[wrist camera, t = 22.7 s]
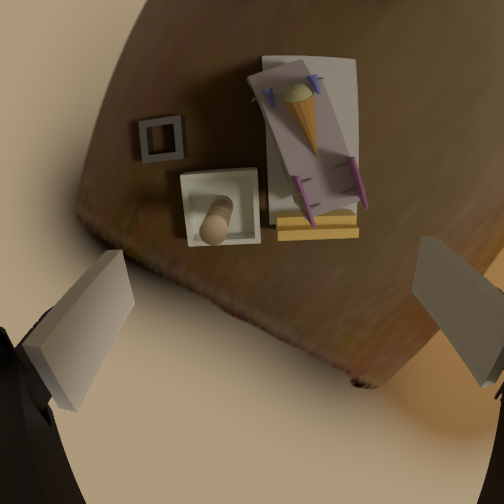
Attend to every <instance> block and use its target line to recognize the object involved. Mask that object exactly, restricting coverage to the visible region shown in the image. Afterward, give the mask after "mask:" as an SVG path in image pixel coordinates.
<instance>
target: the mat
mask: <svg viewBox="0 0 504 504" xmlns="http://www.w3.org/2000/svg"><path fill="white" fill-rule="evenodd" d="M301 59H302V60H303V61H304V63H305V65H306V67H307V68H308V70H309V72H310V74H311V75H314V74H317V75H318V77H323V78H324V79H322V81H323V83H324V86H325V88H326V91H327V94H328V96H329V99H330V101H331V104H332V107H333V110H334V112H335V115H336V118H337V121H338V123H339V126H340V129H341V132H342V135H343V138H344V141H345V144H346V147H347V150H348V153H349V156H350V157H355V159H356V163H357V167H358V160H359V128H358V93H357V75H356V60H355V59H347V58H335V57H319V56H262V69H263V71H265V70H268V69H271V68H274V67H277V66H280V65H284V64H287V63H290V62H294V61H297V60H301ZM265 126H266V148H267V171H268V197H269V224H276V212H286V211H300V209H299V207H298V205H296V204H295V202H294V199H293V196H294V195H293V193H292V190H291V187H290V185H289V182H288V180H287V177H286V175H285V172H284V170H283V167H282V164H281V160H280V158H279V155H278V153H277V150H276V148H275V145H274V142H273V140H272V137H271V135H270V132H269V130H268V127H267V124H266V122H265ZM335 210H352V211H353V212H354V213H355V214H356V215H357V202H355V203H352V204H350V205H347V206H344V207H341V208H338V209H335Z"/></svg>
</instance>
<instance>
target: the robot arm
mask: <svg viewBox="0 0 504 504" xmlns="http://www.w3.org/2000/svg"><path fill="white" fill-rule="evenodd" d="M411 291H412V292H413V293H414V295H415V296H416V297H417V298H418V300H419V301H420V302H421V303H422V305H423V306H424V307H425V309H426V310H427V311H428V313H429V314H430V315H431V317H432V318H433V319H434V321H435V322H436V323H437V325H438V326H439V327H440V329H441V330H442V331H443V333H444V334H445V335H446V337H447V338H448V340H449V341H450V342H451V344H452V345H453V347H454V348H455V349H456V351H457V352H458V354H459V355H460V357H461V358H462V360H463V361H464V363H465V364H466V365H467V367H468V369H469V370H470V372H471V373H472V375H473V376H474V378H475V379H476V381H477V382H478V384H479V385H480V387H481V388H483V387H486V386H488V385H491V384H494V383H496V381H497V380H498V378H499V376H500V374H501V372H502V371H503V370H504V293H503V292H502V291H501V290H500V289H499V288H497V287H495V286H494V285H493V284H492V283H491V282H490V281H488V280H487V279H486V278H485V277H484V276H483V275H482V274H481V273H479V272H478V271H477V270H476V269H475V268H473V267H472V266H471V265H470V264H469V263H468V262H466V261H465V260H464V259H463V258H461V257H460V256H459V255H458V254H457V253H455V252H454V251H453V250H452V249H450V248H449V247H448V246H446V245H445V244H444V243H443V242H441V241H440V240H439V239H437V238H436V237H435V236H427V237H421V241H420V247H419V253H418V259H417V265H416V270H415V275H414V280H413V285H412V290H411ZM134 305H135V302H134V298H133V294H132V290H131V286H130V282H129V278H128V274H127V270H126V266H125V262H124V257H123V252H122V250H107V251H106V252H105V253H104V254H103V255H102V256H101V257H100V258H99V259H98V260H97V261H96V262H95V263H94V264H93V265H92V266H91V267H90V268H89V269H88V270H87V271H86V272H85V273H84V274H83V276H81V277H80V279H79V280H78V281H77V282H76V283H75V284H74V285H73V286H72V287H71V288H70V289H69V290H68V291H67V293H65V295H64V296H63V297H62V298H61V299H60V300H59V301H58V302H57V304H56V305H55V306H53V307H52V308H50V309H49V310H48V311H46V312H45V313H44V314H43V315H42V316H41V318H40V319H39V321H38V322H36V323H35V324H34V326H33V328H31V329H30V330H29V332H28V333H27V334H26V335H25V336H24V338H23V339H22V340H21V341H20V343H19V344H18V345H17V346H16V347H15V348H14V347H13V345H12V343H11V341H10V339H9V337H8V335H7V333H6V331H5V329H4V328H3V327H0V504H86V502H85V500H84V498H83V496H82V494H81V491H80V489H79V487H78V484H77V482H76V480H75V478H74V475H73V472H72V470H71V467H70V464H69V462H68V459H67V456H66V454H65V451H64V448H63V445H62V442H61V439H60V436H59V433H58V430H57V426H56V423H55V419H54V416H53V412H52V410H51V408H50V406H49V405H48V402H49V400H50V398H51V397H53V399H54V400H55V402H56V403H57V405H58V406H59V408H62V409H65V410H70V411H74V412H77V411H78V410H79V408H80V406H81V403H82V401H83V399H84V397H85V395H86V393H87V391H88V389H89V387H90V385H91V383H92V381H93V379H94V377H95V375H96V374H97V372H98V370H99V368H100V366H101V364H102V362H103V360H104V358H105V356H106V354H107V353H108V351H109V349H110V347H111V345H112V343H113V342H114V340H115V338H116V336H117V334H118V333H119V331H120V329H121V327H122V325H123V324H124V322H125V320H126V318H127V317H128V315H129V313H130V311H131V310H132V308H133V306H134ZM501 393H502V398H501V399H500V401H501V407H500V415H499V420H498V426H497V432H496V436H495V441H494V446H493V451H492V454H491V458H490V462H489V467H488V470H487V474H486V477H485V480H484V484H483V487H482V490H481V493H480V496H479V499H478V502H477V504H504V382H503V384H502V386H501V387H500V389H499V391H498V392H497V394H496V395H495V399H497V398H498V396H499V395H500V394H501Z"/></svg>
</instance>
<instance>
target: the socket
mask: <svg viewBox="0 0 504 504" xmlns="http://www.w3.org/2000/svg"><path fill="white" fill-rule="evenodd" d="M138 122H139V134H140V144H141V154H142V163H151V162H159V161H167V160H176V159H184V158H186V157H188V155H187V143H186V131H185V117H184V115H177V116H170V117H163V118H156V119H150V120H144V121H138ZM170 124H174V136H175V147H176V151H171V152H162V153H154V150H153V140H152V128H151V127H155V126H162V125H170Z"/></svg>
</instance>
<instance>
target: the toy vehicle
mask: <svg viewBox="0 0 504 504" xmlns="http://www.w3.org/2000/svg"><path fill="white" fill-rule="evenodd" d="M322 79H324V78H323V77H318V75H317V74H314V75H311V74H310V72H309V70H308V68H307V67H306V65H305V63H304V61H303V60H302V59H301V60H297V61H294V62H290V63H287V64H284V65H280V66H277V67H274V68H271V69H268V70H265V71H262V72H259V73H256V74H254V75H251V76H248V77H247V78H246V80H247V82H248V85H249V87H250V86H251V87H252V89H253V94H254V96H255V98H253V99H252V100H251V103H252V102H253V101H257V104H258V106H259V108H260V110H261V111H262V114H263V117H264V119H265V122H266V124H267V127H268V130H269V132H270V135H271V137H272V140H273V142H274V145H275V148H276V150H277V153H278V155H279V158H280V160H281V164H282V167H283V170H284V172H285V175H286V177H287V180H288V182H289V185H290V187H291V190H292V193H293V195H294V196H293V199H294V202H295V204H296V205H298V207H299V209H300V211H301V213H302V215H303V217H304V219H305V220H308V221H309V223H310V224H311V226H312V227H313V228H316V224H315V222H314V219H313V217H316V216H318V215H321V214H324V213H327V212H330V211H333V210H335V209H338V208H341V207H344V206H347V205H350V204H352V203H355V202H358V201H361V202H362V203H363V205H364V206H365V208H366V209H369V206H368V203H367V199H366V195H365V189H364V187H363V183H362V180H361V176H360V173H359V170H358V167H357V163H356V159H355V157H350V156H349V153H348V150H347V147H346V144H345V141H344V138H343V135H342V132H341V129H340V126H339V123H338V121H337V118H336V115H335V112H334V110H333V107H332V104H331V101H330V99H329V96H328V94H327V91H326V88H325V86H324V83H323V81H322Z"/></svg>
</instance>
